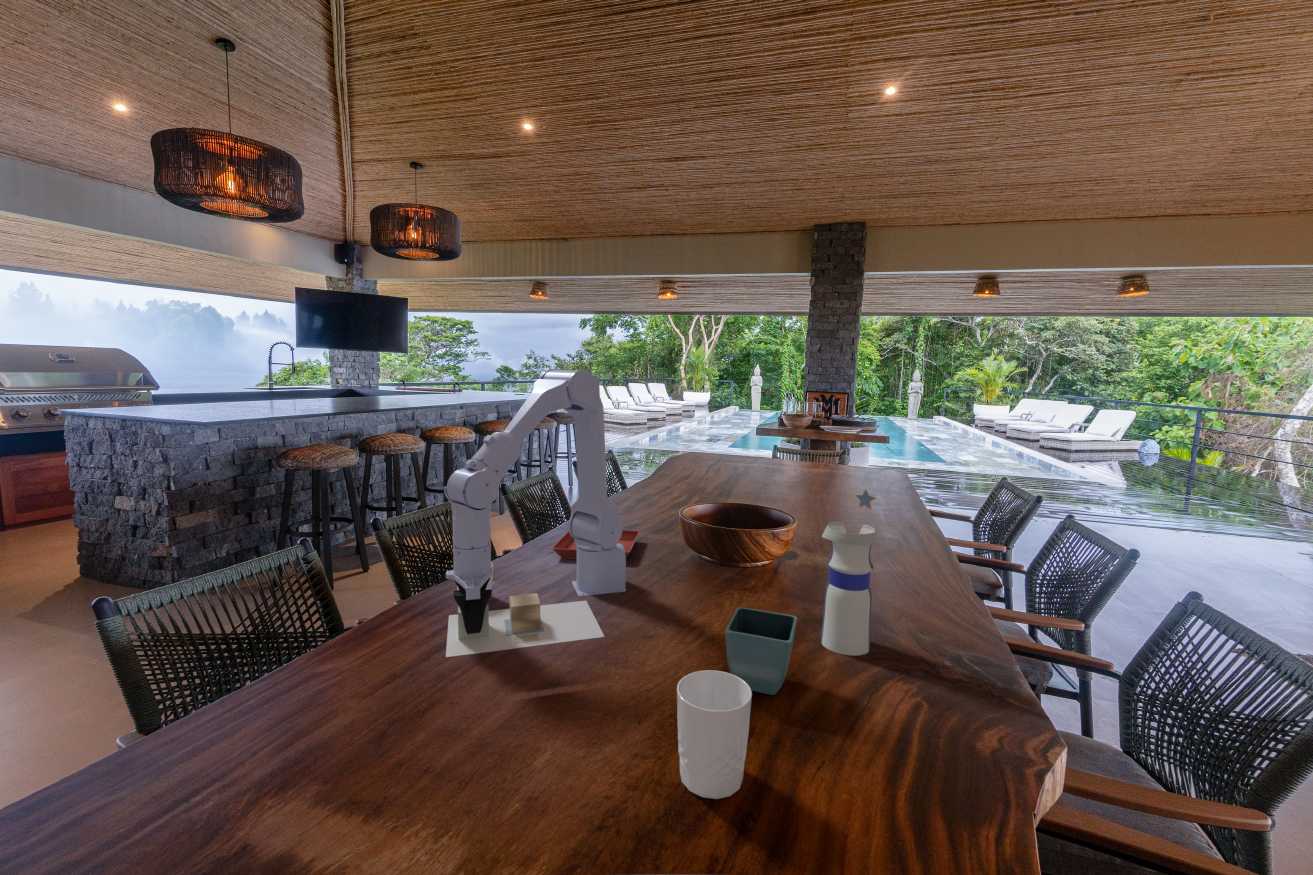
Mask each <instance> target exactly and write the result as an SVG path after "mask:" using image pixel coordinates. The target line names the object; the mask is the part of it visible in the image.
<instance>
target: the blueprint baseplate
mask: <svg viewBox="0 0 1313 875" xmlns="http://www.w3.org/2000/svg"><path fill="white" fill-rule="evenodd" d="M447 622H448V624H447V635H446V636H447V637H446V649H445V658H452V657H459V656H469V655H474V654H483V653H484V654H485V653H490V652H491V653H492V652H497V651H498V652H500V651H506V650H507V651H508V650H513V649H521V648H530V647H537V646H545V645H552V644H553V645H554V644H561V643H570V642H576V641H577V642H578V641H583V640H590V639H591V640H592V639H599V638H605V634H604V632H603V631H602V629H601V627H600V625H599V623H598V621H597V619H596V617H595V615H594V613H593V611H592V609H591V607H590V605H589V603H588V601H587V600H581V601H580V600H578V601H569V602H561V603H553V604H552V603H551V604H550V603H549V604H542V605H541V604H540V630H531V631H523V632H515V633H512V632H511V626H510V608H504V609H497V610H489V636H484V637H476V638H468V639H459V640H458V613H457V614H449V615H448V621H447Z"/></svg>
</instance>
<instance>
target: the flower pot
mask: <svg viewBox="0 0 1313 875" xmlns="http://www.w3.org/2000/svg"><path fill="white" fill-rule="evenodd" d="M797 624H798V617H797V615H792V614H787V613H780V612H773V611H767V610H763V609H762V610H761V609H755V608H751V607H750V608H749V607H742V606H738V607H736V609H735V610H734V613H733V615H732V616H731V619H730V620H729V622H728V625H727V626H726V627H725V645H726V646H725V647H726V660H727V665H728V668H729V672H730V674H733V675H735V676H737V677H739V678H741V679H742V680H744V681H745V682H746V683H747V684H748V685H749V687H750V688H751V691H752V692H757V693H762V694H765V695H771V696H775V695H776V694H777V693H778V692H779V690H780V689H781V688H782V687H783V684H784V682H785V680H786V677H787V673H788V669H789V664H790V660H791V655H792V652H793V647H794V643H795V642H794V641H795V635H796V630H797Z"/></svg>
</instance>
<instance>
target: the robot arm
mask: <svg viewBox="0 0 1313 875" xmlns="http://www.w3.org/2000/svg"><path fill="white" fill-rule="evenodd" d="M600 393H601V392H600V380H599V379H598V378H597V377H596V376H595V375H594V374H592V373H591V372H590V371H589V370H586V369H578V370H576V369H574V370H573V369H572V370H571V369H555V368H549V369H546V370H544V371H543V372H542V373H541V375H540V376H539V378H537V379H536V380H535V381H534V382H533V387H532V391H531V393H530V394H529V395H528V397H527V399H526V400H525V401H524V403H523V404H522V405H521V406H520V408H519V410H518V411H517V412H516V414H515V415H514V416H513V418H512V419H511V420H510V422H509V423H508V424H507V426H506V428H505V429H504V430H503V431H495V432H493V433H492V434H491V435H489V434H487V435H486V436H485V437H484V439H482V441H483V444H482V446H480V448H479V449H478V450H477V451H476V453H475V454H474V455H473V456H472V457H471V458H470V459H468V460H467V461H466V462H465V463H464V464H465V466H464V467H463V468H459V469H457V470H455V471H454V472H453V473H451V475H450V476H449V479H448V480H447V483H446V486H444V487H443V491H444V492H443V493H444V495H445V497H446V499H447V500H448V501H449V502H450V505H451V512H452V514H451V515H452V516H451V517H452V549H453V550H452V551H453V552H452V554H453V570H452V569H451V570H447V571H446V572H445V579H447V580H450V579H451V580H453V581H454V583H455V584H456V587H457V586H458V588H459V590H457V589H456V590H453V599H454V601H455V603H456V604H457V606H459V608H460V610H461V613H462V616H463V621H464V626H465V630H466V633H467V634H474V633H480V632H481V629H482V624H483V618H484V613H485V609H486V606H487V603H488V604H489V601H490V600H491V598H492V594H493V591H492V589H489V590H486V587H487V584H488V582H489V580H490V577H491V576H492V568H491V562H492V553H491V552H492V551H491V550H492V543H491V540H492V539H491V537H492V535H491V531H492V530H491V504H492V503H493V502H495V501H496V499H497V497H498V495H499V494H498V493H499V486H500V484H501V483H502V479H503V478H504V476H505V475H506V474H507V472H508V471H509V470H510V469H511V467H513V465H514V464H515V463H516V461H517V460H518V459H519V458H520V456H521V454H522V446H521V444H522V443H523V441H525V439H526V438H527V437H528V436H529V435H530V434H531V433H532V431H534V429H535V428H536V427H538V425H539V424H540V423H541V422H542V421H543V420H544V419H545V417H546V416H547V415H548V414H549V413H550V412H553V411H554V412H555V411H559V410H564V411H565V412H566V413H568V414H569V415H570V416H571V417H572V418H573V419H574V429H575V431H574V432H575V445H576V446H575V448H576V467H577V468H576V470H577V485H578V486H577V488H578V498H577V499H576V500H575V501H574V502H573V503H572V504H571V506H570V511H571V512H570V517H569V521H568V525H567V526H568V529H567V530H568V531H569V533H570V535H571V536H572V537H573V538H574V543H575V544H576V545H577V559H576V580H573V581H571V584H572V586H573V588H574V590H575V592H576V593H577V596H578V597H585V596H594V595H603V594H613V593H614V594H615V593H622V592H623V593H624V592H626V591H627V589H626V586H627V585H626V577H627V576H626V573H627V572H626V568H627V567H626V566H627V560H626V559H627V557H626V556H625V550H624V547H623V545H622V544H617V543H618V542H619V540H620V538H621V535H622V530H623V523H622V521H621V518H620V516H619V515H620V514H619V508H618V507H617V505H615V503H614V502H613V501H612V500H611V499H610V498H609V497H608V487H607V486H608V485H607V484H608V482H607V462H606V460H607V459H606V435H605V414H604V411H605V410H604V404H603V400H602V398H601V394H600ZM489 599H490V600H489Z"/></svg>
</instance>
